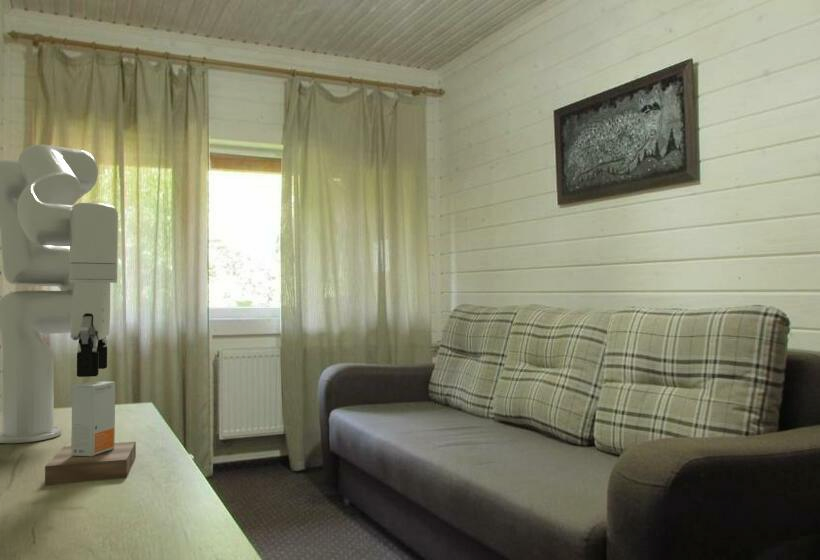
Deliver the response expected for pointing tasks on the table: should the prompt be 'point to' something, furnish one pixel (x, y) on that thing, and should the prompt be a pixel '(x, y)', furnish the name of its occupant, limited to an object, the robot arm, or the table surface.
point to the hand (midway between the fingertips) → (92, 372)
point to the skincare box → (93, 418)
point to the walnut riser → (91, 465)
